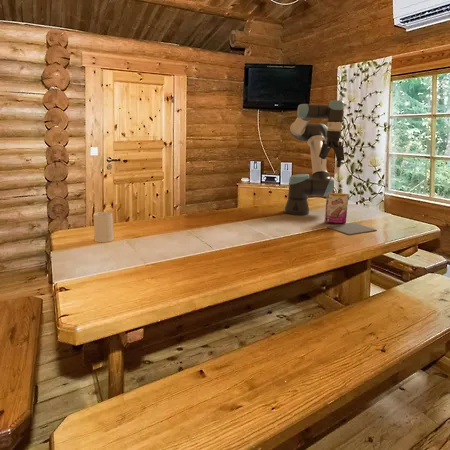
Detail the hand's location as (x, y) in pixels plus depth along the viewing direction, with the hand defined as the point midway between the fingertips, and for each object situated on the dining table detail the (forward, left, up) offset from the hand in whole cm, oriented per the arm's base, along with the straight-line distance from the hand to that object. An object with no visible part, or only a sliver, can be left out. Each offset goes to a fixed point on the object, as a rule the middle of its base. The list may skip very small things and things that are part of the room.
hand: (329, 171), depth 218 cm
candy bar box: (+8, 0, -27) cm, 29 cm away
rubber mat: (+20, 0, -28) cm, 34 cm away
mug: (-13, -121, -28) cm, 125 cm away
